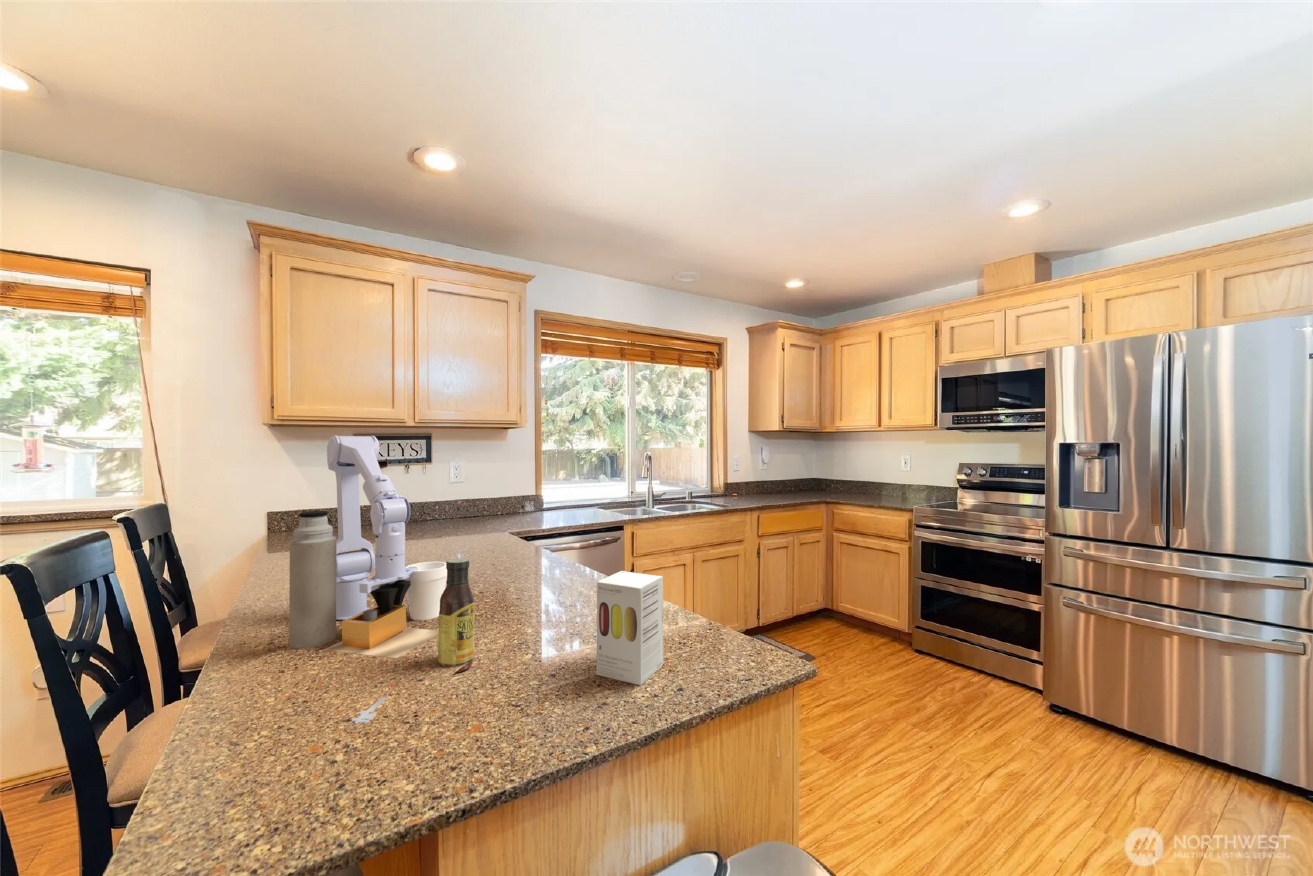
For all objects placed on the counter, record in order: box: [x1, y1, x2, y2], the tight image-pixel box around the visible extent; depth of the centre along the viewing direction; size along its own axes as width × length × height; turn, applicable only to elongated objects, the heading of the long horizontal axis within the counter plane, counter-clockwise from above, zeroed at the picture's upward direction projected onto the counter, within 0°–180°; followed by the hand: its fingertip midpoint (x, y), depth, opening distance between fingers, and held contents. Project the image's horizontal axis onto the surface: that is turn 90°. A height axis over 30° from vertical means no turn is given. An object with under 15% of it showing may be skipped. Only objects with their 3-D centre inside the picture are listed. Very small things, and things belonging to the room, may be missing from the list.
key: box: [351, 697, 388, 724], centre depth 81 cm, size 12×1×3 cm
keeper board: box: [323, 609, 439, 659], centre depth 103 cm, size 17×14×8 cm
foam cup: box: [405, 561, 447, 621], centre depth 118 cm, size 10×9×13 cm
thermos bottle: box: [288, 510, 337, 649], centre depth 103 cm, size 8×8×28 cm
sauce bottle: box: [437, 557, 476, 673], centre depth 94 cm, size 6×6×20 cm
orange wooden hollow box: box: [341, 604, 407, 649], centre depth 104 cm, size 10×6×5 cm, turn 167°
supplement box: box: [595, 570, 664, 686], centre depth 92 cm, size 10×9×17 cm
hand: (390, 617), depth 108 cm, fingers closed
